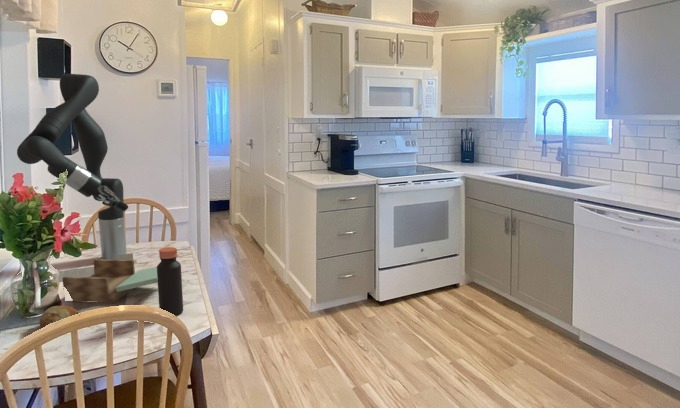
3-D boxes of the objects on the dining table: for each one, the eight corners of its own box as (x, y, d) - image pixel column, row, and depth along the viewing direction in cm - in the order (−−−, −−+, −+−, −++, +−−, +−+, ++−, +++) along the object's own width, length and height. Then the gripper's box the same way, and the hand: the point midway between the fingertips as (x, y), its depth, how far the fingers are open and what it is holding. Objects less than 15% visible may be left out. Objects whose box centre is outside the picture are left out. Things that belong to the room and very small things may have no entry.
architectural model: (117, 271, 180) (115, 252, 178) (136, 268, 183) (135, 250, 181) (117, 273, 177) (116, 254, 175) (137, 271, 180) (136, 252, 178)
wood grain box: (64, 301, 149) (62, 277, 148) (96, 280, 168) (94, 259, 166) (114, 302, 149) (112, 278, 147) (140, 281, 168) (139, 260, 166)
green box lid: (115, 287, 150) (156, 277, 149) (137, 271, 165) (175, 262, 164) (118, 294, 150) (159, 285, 149) (140, 277, 166) (177, 268, 165)
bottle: (157, 311, 143) (153, 248, 139) (179, 306, 147) (176, 245, 143) (162, 319, 138) (158, 254, 134) (186, 314, 141) (182, 250, 138)
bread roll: (43, 336, 134) (27, 316, 130) (78, 312, 140) (62, 292, 136) (53, 348, 127) (35, 327, 124) (88, 323, 133) (73, 302, 129)
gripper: (91, 179, 151) (136, 208, 161) (89, 165, 161) (131, 193, 172) (74, 196, 150) (121, 224, 161) (74, 181, 161) (117, 208, 172)
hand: (126, 208), depth 166 cm, fingers closed
